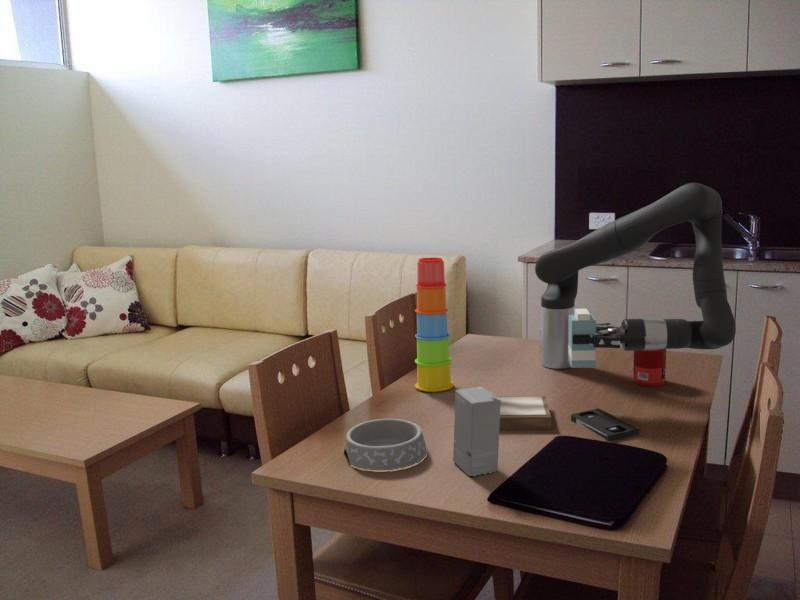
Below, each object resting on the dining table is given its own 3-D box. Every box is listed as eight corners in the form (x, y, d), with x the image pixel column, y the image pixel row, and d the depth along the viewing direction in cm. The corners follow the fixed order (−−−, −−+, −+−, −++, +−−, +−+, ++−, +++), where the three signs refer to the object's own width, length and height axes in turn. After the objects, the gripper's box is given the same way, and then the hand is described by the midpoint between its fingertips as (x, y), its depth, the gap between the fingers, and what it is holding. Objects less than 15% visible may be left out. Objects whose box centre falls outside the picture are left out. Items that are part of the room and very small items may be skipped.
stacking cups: (407, 387, 205) (401, 260, 197) (434, 378, 211) (430, 254, 204) (433, 396, 197) (429, 264, 190) (461, 386, 204) (457, 258, 196)
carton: (568, 360, 186) (568, 308, 183) (591, 360, 185) (592, 308, 182) (571, 367, 180) (571, 314, 177) (595, 367, 180) (596, 313, 177)
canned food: (669, 386, 197) (670, 345, 194) (637, 387, 197) (638, 346, 195) (659, 376, 204) (661, 337, 202) (629, 377, 205) (630, 338, 202)
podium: (487, 408, 187) (487, 395, 186) (545, 407, 186) (545, 394, 185) (488, 430, 173) (488, 416, 173) (551, 429, 172) (551, 416, 171)
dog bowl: (355, 479, 152) (354, 454, 151) (337, 445, 170) (335, 422, 169) (436, 466, 157) (435, 441, 156) (410, 434, 174) (409, 411, 173)
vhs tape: (570, 422, 177) (570, 414, 177) (598, 416, 180) (598, 408, 180) (609, 444, 164) (609, 435, 164) (638, 437, 167) (638, 428, 167)
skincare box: (452, 462, 157) (450, 389, 154) (483, 456, 160) (482, 384, 156) (470, 479, 150) (468, 402, 146) (502, 472, 152) (501, 396, 149)
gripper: (637, 311, 186) (566, 313, 188) (651, 326, 172) (575, 328, 174) (636, 341, 188) (566, 343, 189) (650, 358, 174) (575, 360, 175)
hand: (571, 336), depth 181 cm, fingers closed on carton, 5 cm apart
